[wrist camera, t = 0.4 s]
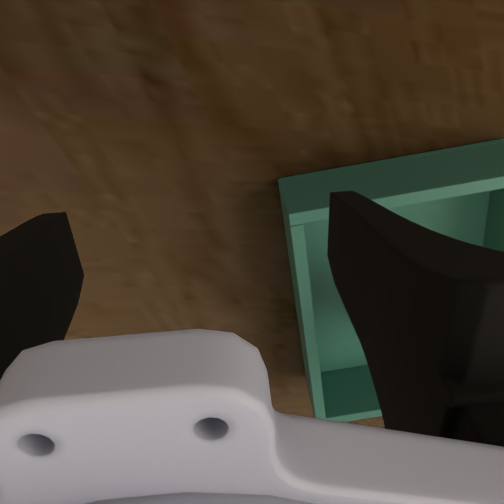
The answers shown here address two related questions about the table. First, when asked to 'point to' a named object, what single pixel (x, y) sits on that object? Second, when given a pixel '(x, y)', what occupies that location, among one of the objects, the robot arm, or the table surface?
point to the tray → (402, 203)
